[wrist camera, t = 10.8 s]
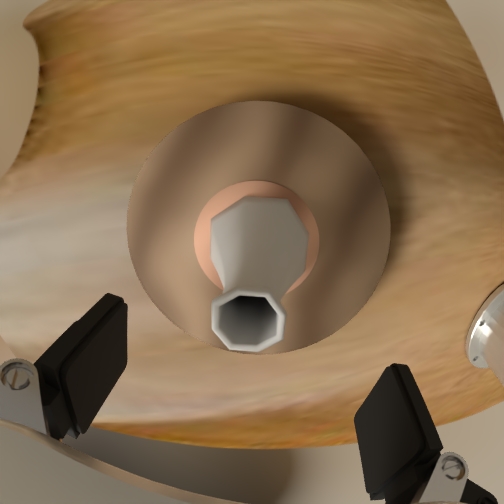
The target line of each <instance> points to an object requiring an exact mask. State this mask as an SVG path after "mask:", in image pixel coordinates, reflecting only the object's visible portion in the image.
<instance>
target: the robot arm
mask: <svg viewBox="0 0 504 504" xmlns="http://www.w3.org/2000/svg"><path fill="white" fill-rule="evenodd" d="M127 312H128V306H127V304H126V303H124V300H123V298H122V297H119V296H116V295H113V294H110V293H107V294H105V295H104V296H103V297H102V298H101V299H100V300H99V301H98V302H97V303H96V304H95V305H94V306H93V307H92V308H91V309H90V310H89V311H88V312H87V313H86V314H85V315H84V316H83V317H81V318H80V319H79V320H78V321H76V322H74V323H73V324H72V325H71V326H70V327H69V328H68V329H67V330H66V331H65V332H64V333H63V334H62V335H61V336H60V337H59V338H58V339H57V340H56V341H55V342H54V343H53V344H52V345H51V346H50V347H49V348H48V349H47V350H46V351H45V352H44V353H43V355H42V356H41V357H40V358H39V359H38V360H37V361H36V362H35V363H34V364H32V363H31V362H29V361H27V360H24V359H18V358H16V359H10V360H8V361H6V362H4V363H3V364H2V365H1V366H0V504H246V503H239V502H234V501H228V500H223V499H218V498H214V497H209V496H204V495H200V494H196V493H192V492H188V491H185V490H181V489H177V488H173V487H170V486H167V485H164V484H161V483H157V482H154V481H151V480H148V479H146V478H143V477H140V476H137V475H135V474H132V473H129V472H127V471H124V470H122V469H119V468H116V467H114V466H112V465H109V464H107V463H105V462H102V461H100V460H97V459H95V458H93V457H91V456H89V455H87V454H84V453H82V452H80V451H78V450H76V449H74V448H72V447H70V446H68V445H66V444H64V443H62V440H61V439H63V438H64V436H65V435H66V434H68V435H70V436H72V437H73V438H75V439H77V437H78V436H79V434H80V433H82V434H84V433H85V432H86V431H87V429H88V428H89V426H90V424H91V423H92V421H93V419H94V418H95V416H96V415H97V413H98V411H99V410H100V408H101V406H102V405H103V403H104V401H105V400H106V398H107V397H108V395H109V393H110V392H111V390H112V389H113V387H114V385H115V384H116V382H117V381H118V379H119V377H120V376H121V374H122V373H123V371H124V370H125V368H126V365H127ZM465 346H466V355H467V358H468V359H469V361H470V362H471V363H472V364H473V365H474V366H475V367H477V368H488V367H490V368H491V370H492V371H493V372H494V374H495V375H496V377H497V378H498V379H499V381H500V382H501V384H502V385H503V386H504V284H502V285H501V286H500V287H498V288H497V289H496V290H495V291H494V292H493V293H492V294H491V295H490V296H489V297H488V299H487V300H486V301H485V302H484V304H483V305H482V307H481V308H480V309H479V311H478V313H477V314H476V316H475V318H474V320H473V322H472V324H471V327H470V329H469V332H468V335H467V339H466V345H465ZM354 424H355V429H356V434H357V439H358V445H359V450H360V456H361V462H362V468H363V474H364V481H365V487H366V491H367V493H370V500H382V499H384V498H385V501H386V503H385V504H498V502H497V499H496V498H495V497H494V495H492V494H491V493H490V492H488V491H486V490H485V489H483V488H481V487H480V486H478V485H477V484H475V483H474V482H472V481H470V480H469V479H467V477H468V466H467V464H466V461H465V460H464V459H463V458H462V457H461V456H460V455H458V454H456V453H454V452H447V453H444V454H442V455H441V454H440V451H441V450H442V449H443V446H442V443H441V440H440V438H439V435H438V433H437V430H436V428H435V425H434V423H433V420H432V418H431V416H430V413H429V411H428V409H427V406H426V404H425V402H424V399H423V397H422V395H421V393H420V390H419V388H418V386H417V384H416V382H415V379H414V377H413V375H412V373H411V371H410V369H409V367H408V366H407V365H404V364H396V363H393V364H391V365H390V366H389V367H386V369H385V370H384V372H383V373H382V375H381V377H380V378H379V380H378V381H377V383H376V384H375V386H374V387H373V389H372V391H371V392H370V394H369V395H368V397H367V398H366V399H365V401H364V402H363V404H362V405H361V407H360V408H359V410H358V411H357V412H356V414H355V417H354Z"/></svg>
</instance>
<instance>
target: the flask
mask: <svg viewBox="0 0 504 504" xmlns="http://www.w3.org/2000/svg"><path fill="white" fill-rule="evenodd" d="M308 241H309V232H308V231H307V229H306V228H305V226H304V224H303V223H302V221H301V220H300V218H299V216H298V215H297V213H296V212H295V210H294V208H293V207H292V205H291V204H290V202H289V201H288V199H280V198H266V197H251V196H244V197H243V198H241V199H240V200H238V201H237V202H235V203H234V204H232V205H231V206H229V207H228V208H226V209H225V210H223V211H222V212H220V213H219V214H217V215H216V216H214V217H213V218H211V233H210V258H211V260H212V262H213V264H214V266H215V268H216V270H217V272H218V275H219V277H220V280H221V282H222V285H223V287H224V290H223V293H222V294H221V295H220V296H218V297H216V298H214V299H213V300H212V303H211V315H212V330H213V331H214V333H215V334H216V335H217V336H218V337H219V338H220V339H221V341H222V342H223V343H224V344H225V345H226V346H227V348H228V349H229V350H239V351H251V352H259V351H262V350H264V349H266V348H268V347H270V346H272V345H274V344H276V343H278V342H280V341H282V340H283V339H284V332H285V324H286V316H287V311H286V310H285V308H284V307H283V305H282V304H281V303H280V302H281V299H282V297H283V296H284V295H285V293H286V292H287V291H288V290H289V288H290V287H291V286H292V285H293V284H294V283H295V282H296V281H297V280H298V279H299V278H300V277H301V276H302V274H303V273H304V272H305V266H306V258H307V250H308Z"/></svg>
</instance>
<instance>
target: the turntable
mask: <svg viewBox="0 0 504 504" xmlns="http://www.w3.org/2000/svg"><path fill="white" fill-rule="evenodd" d="M244 196H251V197H266V198H280V199H288V201H289V202H290V204H291V205H292V207H293V208H294V210H295V212H296V213H297V215H298V216H299V218H300V220H301V221H302V223H303V224H304V226H305V228H306V229H307V231H308V232H309V241H308V250H307V258H306V266H305V272H304V273H303V274H302V276H301V277H300V278H299V279H298V280H297V281H296V282H295V283H294V284H293V285H292V286H291V287H290V288H289V290H288V291H287V292H286V293H285V295H284V296H283V297H282V299H281V302H280V303H281V304H282V305H283V307H284V308H285V310H286V311H287V316H286V324H285V332H284V339H283V340H282V341H280V342H278V343H276V344H274V345H272V346H270V347H268V348H266V349H264V350H262V351H259V352H251V351H239V350H229V349H228V348H227V346H226V345H225V344H224V343H223V342H222V341H221V339H220V338H219V337H218V336H217V335H216V334H215V333H214V331H213V330H212V315H211V303H212V300H213V299H214V298H216V297H218V296H220V295H221V294H222V293H223V290H224V287H223V285H222V282H221V280H220V277H219V275H218V272H217V270H216V268H215V266H214V264H213V262H212V260H211V258H210V233H211V218H213V217H214V216H216V215H217V214H219V213H220V212H222V211H223V210H225V209H226V208H228V207H229V206H231V205H232V204H234V203H235V202H237V201H238V200H240V199H241V198H243V197H244ZM390 232H391V225H390V214H389V207H388V203H387V198H386V194H385V191H384V189H383V186H382V183H381V181H380V178H379V176H378V174H377V172H376V171H375V169H374V167H373V165H372V164H371V162H370V160H369V159H368V157H367V156H366V155H365V154H364V152H363V151H362V150H361V148H360V147H359V146H358V145H357V144H356V143H355V142H354V141H353V140H352V139H351V138H350V137H349V136H348V135H347V134H346V133H345V132H344V131H342V130H341V129H339V128H338V127H337V126H335V125H334V124H332V123H331V122H330V121H328V120H326V119H324V118H322V117H320V116H318V115H317V114H315V113H313V112H311V111H308V110H305V109H302V108H299V107H296V106H293V105H289V104H283V103H278V102H272V101H244V102H235V103H230V104H226V105H222V106H218V107H214V108H212V109H209V110H207V111H205V112H202V113H200V114H197V115H195V116H194V117H192V118H190V119H189V120H187V121H185V122H184V123H182V124H180V125H179V126H178V127H177V128H175V129H174V130H173V131H172V132H170V133H169V134H168V135H167V136H166V137H165V138H164V139H163V140H162V141H161V142H160V143H159V144H158V145H157V146H156V147H155V149H154V150H153V151H152V153H151V154H150V155H149V157H148V158H147V160H146V161H145V163H144V164H143V166H142V168H141V170H140V172H139V174H138V176H137V178H136V181H135V184H134V187H133V190H132V193H131V196H130V201H129V207H128V212H127V238H128V247H129V251H130V256H131V260H132V263H133V266H134V269H135V271H136V274H137V276H138V278H139V280H140V282H141V284H142V286H143V288H144V290H145V291H146V293H147V294H148V296H149V297H150V299H151V300H152V302H153V303H154V304H155V305H156V306H157V308H158V309H159V310H160V311H161V312H162V313H163V314H164V315H165V316H166V317H167V318H168V319H169V320H170V321H171V322H172V323H173V324H175V325H176V326H177V327H179V328H180V329H182V330H183V331H184V332H186V333H187V334H189V335H191V336H193V337H194V338H196V339H198V340H200V341H202V342H204V343H207V344H209V345H211V346H214V347H217V348H220V349H224V350H227V351H232V352H237V353H243V354H255V355H264V354H278V353H284V352H290V351H294V350H297V349H301V348H304V347H307V346H309V345H312V344H314V343H317V342H319V341H321V340H323V339H324V338H326V337H328V336H330V335H332V334H333V333H335V332H336V331H337V330H339V329H340V328H342V327H343V326H344V325H345V324H347V323H348V322H349V321H350V320H351V319H352V318H353V317H354V316H355V315H356V314H357V313H358V312H359V311H360V310H361V308H362V307H363V306H364V305H365V304H366V302H367V301H368V299H369V298H370V296H371V295H372V293H373V292H374V290H375V288H376V286H377V284H378V282H379V280H380V278H381V276H382V273H383V270H384V267H385V264H386V261H387V257H388V251H389V246H390Z"/></svg>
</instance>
